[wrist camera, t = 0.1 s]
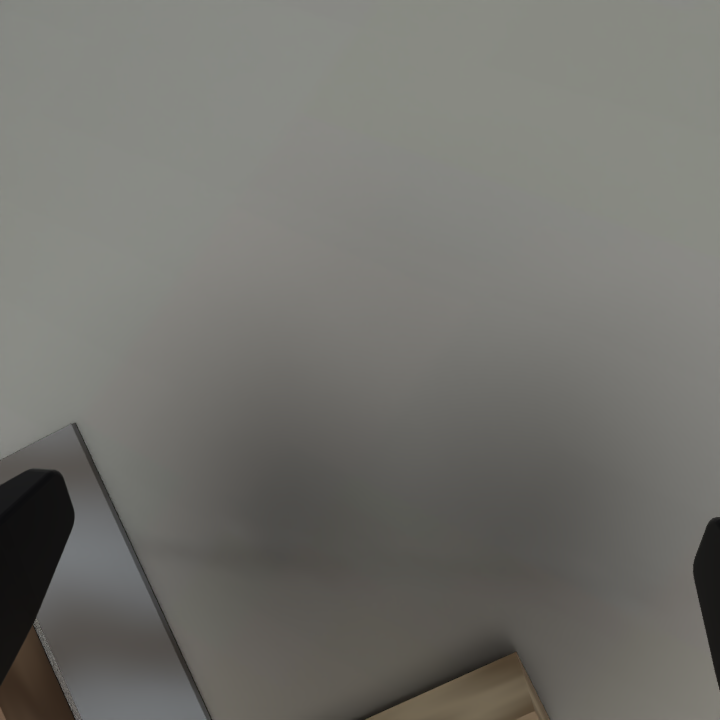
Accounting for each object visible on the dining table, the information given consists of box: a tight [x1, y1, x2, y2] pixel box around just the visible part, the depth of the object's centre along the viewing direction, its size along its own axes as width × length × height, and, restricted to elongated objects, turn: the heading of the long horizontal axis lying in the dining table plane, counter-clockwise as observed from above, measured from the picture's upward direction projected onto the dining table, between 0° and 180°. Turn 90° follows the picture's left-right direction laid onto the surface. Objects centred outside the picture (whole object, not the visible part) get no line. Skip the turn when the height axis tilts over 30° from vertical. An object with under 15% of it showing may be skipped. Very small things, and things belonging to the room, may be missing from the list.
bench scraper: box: [0, 423, 211, 720], centre depth 23 cm, size 18×9×3 cm, turn 27°
